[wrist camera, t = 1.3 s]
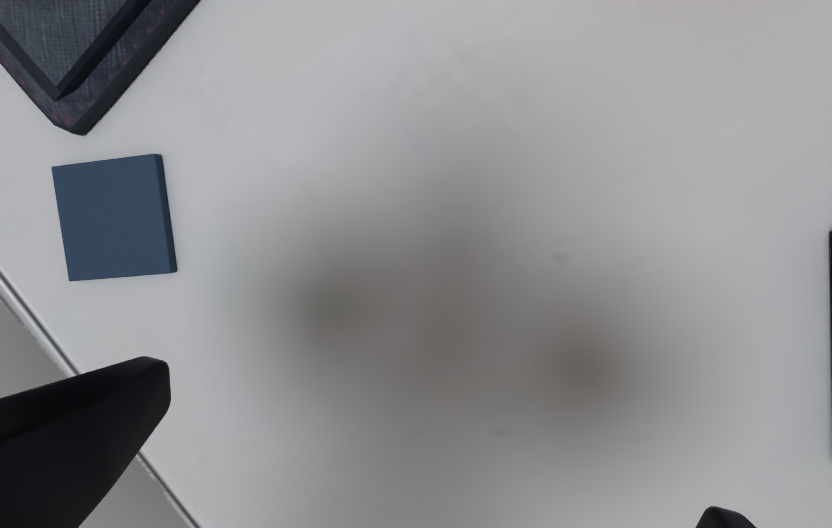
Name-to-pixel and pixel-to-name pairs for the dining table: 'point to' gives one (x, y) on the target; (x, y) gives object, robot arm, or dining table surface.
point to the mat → (114, 218)
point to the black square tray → (831, 264)
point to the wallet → (81, 51)
